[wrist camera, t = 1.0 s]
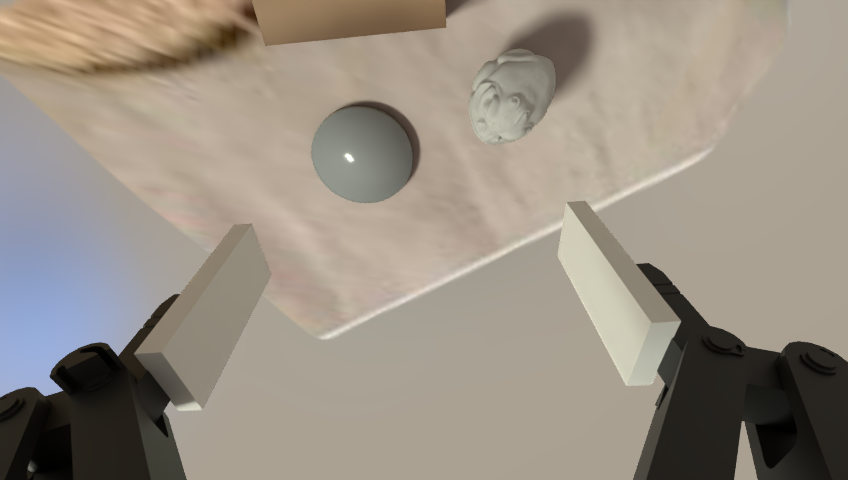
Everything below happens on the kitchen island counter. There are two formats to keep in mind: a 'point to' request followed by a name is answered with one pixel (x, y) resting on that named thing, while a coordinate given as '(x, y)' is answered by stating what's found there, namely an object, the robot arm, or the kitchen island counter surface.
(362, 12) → the walnut block
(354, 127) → the grey oval dome
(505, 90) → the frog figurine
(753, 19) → the kitchen island counter surface
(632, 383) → the robot arm
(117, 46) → the kitchen island counter surface
